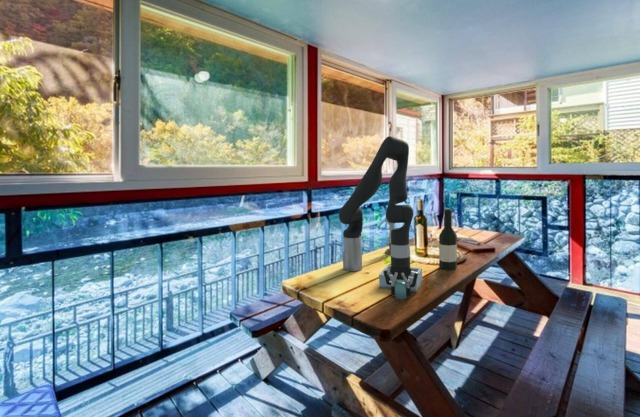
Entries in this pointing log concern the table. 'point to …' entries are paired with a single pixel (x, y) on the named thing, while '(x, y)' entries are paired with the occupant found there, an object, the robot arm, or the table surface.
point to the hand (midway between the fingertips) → (401, 295)
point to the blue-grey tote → (384, 285)
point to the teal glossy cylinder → (400, 290)
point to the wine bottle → (448, 244)
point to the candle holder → (391, 227)
